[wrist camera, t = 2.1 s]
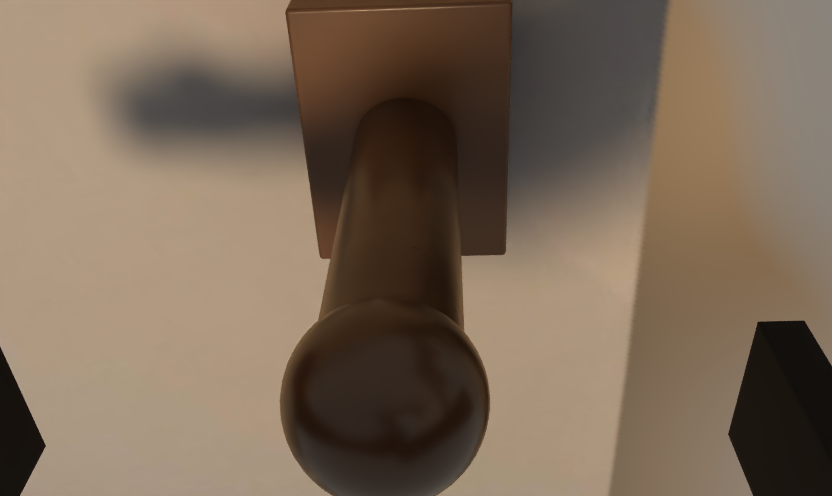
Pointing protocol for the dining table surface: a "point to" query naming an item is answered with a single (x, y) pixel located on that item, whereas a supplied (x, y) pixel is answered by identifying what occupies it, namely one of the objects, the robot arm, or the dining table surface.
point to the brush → (397, 235)
